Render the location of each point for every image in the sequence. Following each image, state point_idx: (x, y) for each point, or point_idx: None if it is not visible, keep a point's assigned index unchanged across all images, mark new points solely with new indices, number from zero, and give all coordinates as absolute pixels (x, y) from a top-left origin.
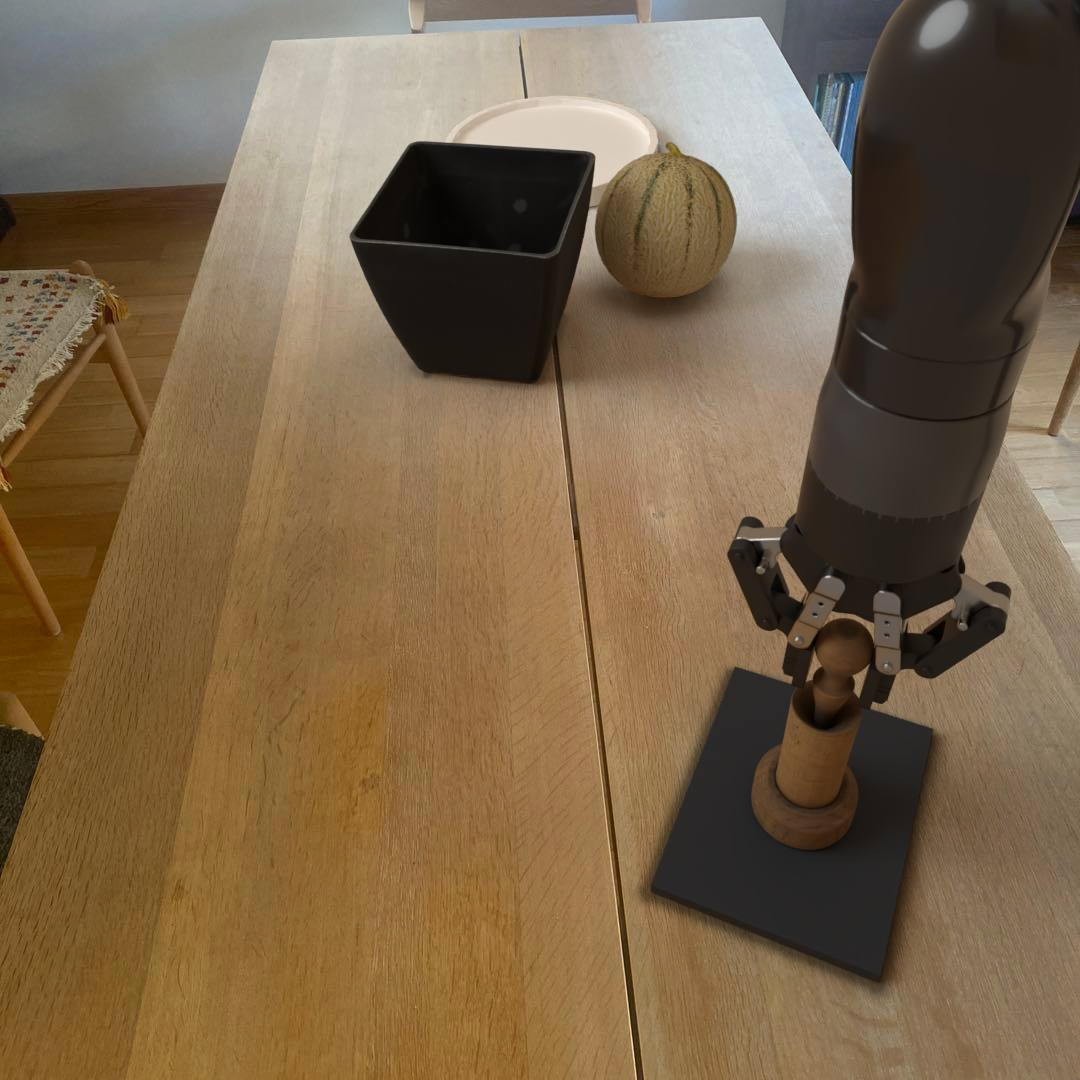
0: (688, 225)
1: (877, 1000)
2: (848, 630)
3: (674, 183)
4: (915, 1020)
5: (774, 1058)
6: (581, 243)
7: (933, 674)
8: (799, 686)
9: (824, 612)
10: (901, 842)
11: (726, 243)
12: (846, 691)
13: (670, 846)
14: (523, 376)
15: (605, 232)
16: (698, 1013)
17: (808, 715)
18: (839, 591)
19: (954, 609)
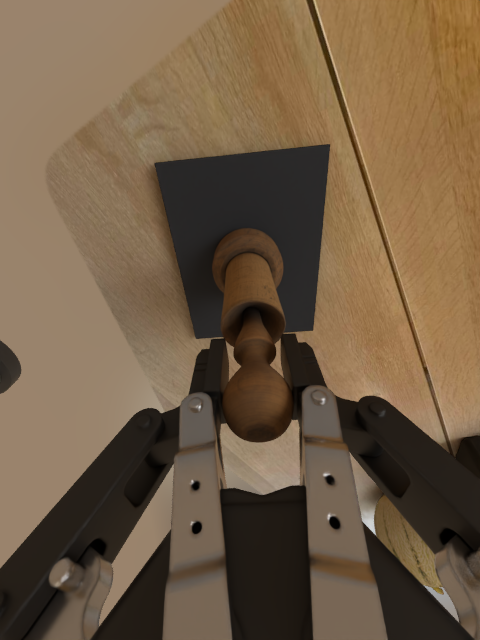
0: (413, 549)
1: (152, 148)
2: (260, 433)
3: (434, 576)
4: (125, 147)
5: (195, 48)
6: None
7: (135, 420)
8: (286, 335)
9: (317, 496)
10: (182, 265)
11: (382, 533)
12: (239, 348)
13: (322, 186)
14: (475, 442)
15: None
16: (262, 52)
17: (264, 313)
18: (323, 630)
19: (89, 594)
